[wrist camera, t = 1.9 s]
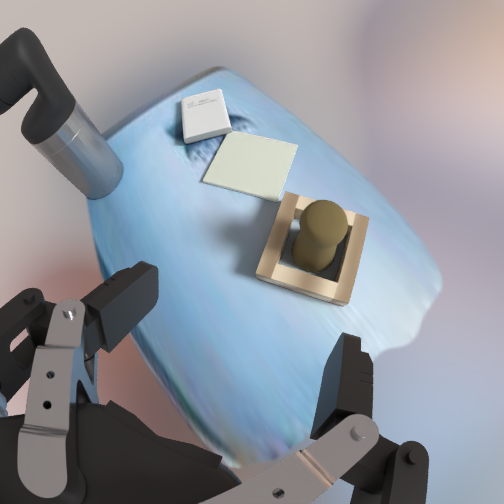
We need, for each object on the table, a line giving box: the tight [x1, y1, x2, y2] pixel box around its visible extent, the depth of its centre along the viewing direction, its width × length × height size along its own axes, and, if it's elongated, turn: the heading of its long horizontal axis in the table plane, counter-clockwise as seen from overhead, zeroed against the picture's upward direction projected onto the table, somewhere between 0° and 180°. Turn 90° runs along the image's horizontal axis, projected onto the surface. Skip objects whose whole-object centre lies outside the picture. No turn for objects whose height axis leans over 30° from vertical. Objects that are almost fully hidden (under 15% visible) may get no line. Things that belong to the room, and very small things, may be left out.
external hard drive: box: [181, 89, 232, 144], centre depth 47 cm, size 2×8×12 cm
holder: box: [256, 191, 369, 306], centre depth 37 cm, size 12×12×3 cm
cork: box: [291, 200, 348, 273], centre depth 33 cm, size 6×6×11 cm
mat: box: [203, 131, 298, 202], centre depth 43 cm, size 12×11×1 cm
